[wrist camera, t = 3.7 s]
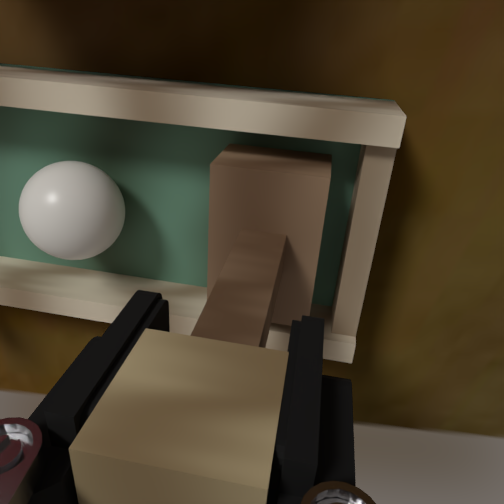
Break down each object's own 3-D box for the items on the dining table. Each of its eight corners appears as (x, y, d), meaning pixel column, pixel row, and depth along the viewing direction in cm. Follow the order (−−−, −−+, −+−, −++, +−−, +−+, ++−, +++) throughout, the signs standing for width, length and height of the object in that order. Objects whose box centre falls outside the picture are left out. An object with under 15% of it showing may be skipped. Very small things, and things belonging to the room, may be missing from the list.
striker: (331, 154, 17) (317, 420, 5) (311, 288, 20) (274, 649, 8) (229, 143, 17) (19, 365, 6) (223, 274, 20) (73, 598, 9)
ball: (137, 155, 19) (91, 185, 15) (142, 240, 20) (101, 284, 17) (49, 145, 19) (-16, 171, 16) (61, 229, 21) (6, 270, 17)
